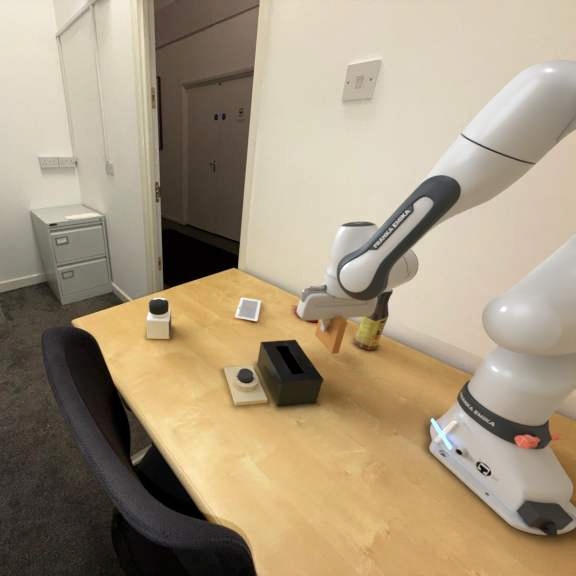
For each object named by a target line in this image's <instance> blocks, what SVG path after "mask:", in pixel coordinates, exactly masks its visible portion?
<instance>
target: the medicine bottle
mask: <svg viewBox="0 0 576 576" xmlns="http://www.w3.org/2000/svg"><path fill="white" fill-rule="evenodd" d="M145 320H146V321H145V323H146V338H147V339H150V340H152V339H153V340H170V338H171V332H172V308H169V300H168V299H166V298H165V297H155V298H152V299H150V300H149V302H148V312H147V317H146V319H145Z"/></svg>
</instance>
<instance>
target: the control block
mask: <svg viewBox="0 0 576 576" xmlns="http://www.w3.org/2000/svg"><path fill="white" fill-rule="evenodd" d="M243 368H246V369H249V370H251V371H252V372H253V379H252V382H250V383H247V384H246V383H242V382H241V381H240V380H239V379H238V375H239V371H240V370H241V369H243ZM223 372H224V375H225V378H226V381H227V384H228V387H229V390H230V393H231V397H232V400H233V403H234V406H246V405H247V406H248V405H256V404H257V405H258V404H267V403H268V397H267V395H266V393H265V391H264V388H263V385H262V383H261V381H260V379H259V378H260V377H258V374H257V373H256V370H255V368H254V366H253V365H240V366H228V367H224V369H223Z"/></svg>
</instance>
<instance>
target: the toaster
mask: <svg viewBox="0 0 576 576" xmlns="http://www.w3.org/2000/svg"><path fill="white" fill-rule="evenodd" d="M258 351H259V352H258V357H257V362H256V363H257V364H256V365H257V367H258V369H259V371H260V373H261V376H262V378H263V380H264V382H265V384H266V386H267V388H268V390H269V392H270V395H271V397H272V400H273V401H274V403H275V405H276V407H277V408H280V407H291V406H302V405H312V404H317V402H318V399H319V395H320V392H321V388H322V386H323V381H324V377H322V375H321V373H319V371H318V369H317V368H316V366H315V365H314V363H313V362H312V361H311V359H310V358H309V356H308V355H307V354H306V353H305V351H304V350H303V348H302V347H301V346H300V344H299V342H298V341H297V339H284V340H272V341H271V340H270V341H269V340H268V341H260V345H259V350H258Z"/></svg>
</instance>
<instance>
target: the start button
mask: <svg viewBox="0 0 576 576" xmlns="http://www.w3.org/2000/svg"><path fill="white" fill-rule="evenodd" d="M238 379H239V380H240V381H241V382H242V383H246V384H247V383H250V382H252V379H253V372H252V371H251V370H249V369H246V368H243V369H241V370H240V371H239V375H238Z"/></svg>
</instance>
